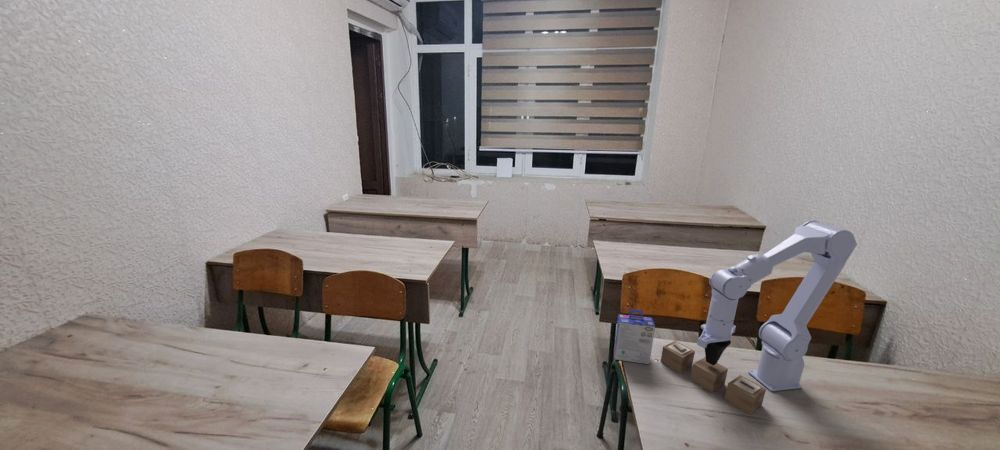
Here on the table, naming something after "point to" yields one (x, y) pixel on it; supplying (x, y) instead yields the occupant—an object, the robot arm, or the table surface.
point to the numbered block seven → (677, 356)
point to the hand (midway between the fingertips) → (711, 362)
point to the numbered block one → (745, 394)
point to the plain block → (708, 374)
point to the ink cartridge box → (634, 338)
